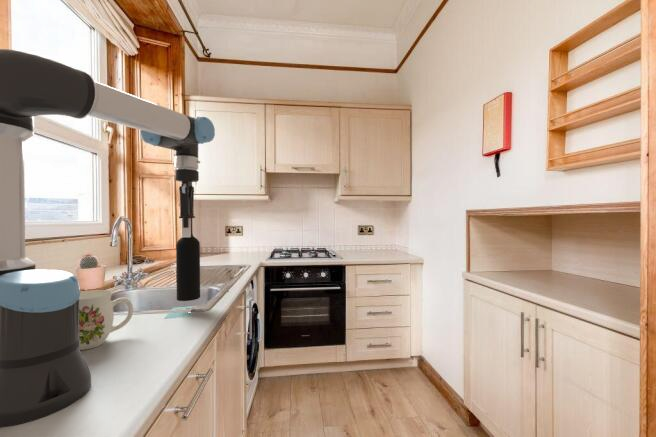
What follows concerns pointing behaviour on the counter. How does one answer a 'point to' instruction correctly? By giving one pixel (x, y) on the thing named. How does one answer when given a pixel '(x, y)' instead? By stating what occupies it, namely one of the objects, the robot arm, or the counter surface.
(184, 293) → the wine bottle
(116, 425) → the counter surface
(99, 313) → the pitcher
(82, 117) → the robot arm
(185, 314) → the mat
